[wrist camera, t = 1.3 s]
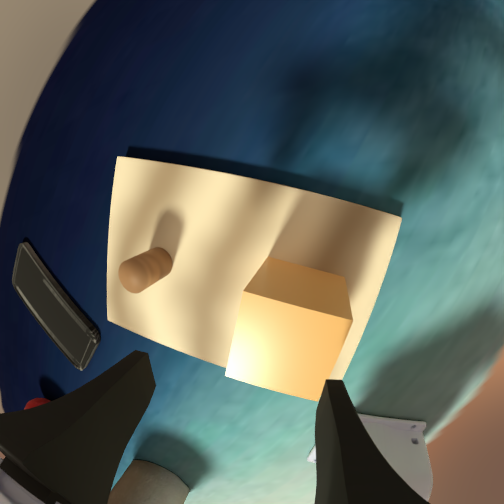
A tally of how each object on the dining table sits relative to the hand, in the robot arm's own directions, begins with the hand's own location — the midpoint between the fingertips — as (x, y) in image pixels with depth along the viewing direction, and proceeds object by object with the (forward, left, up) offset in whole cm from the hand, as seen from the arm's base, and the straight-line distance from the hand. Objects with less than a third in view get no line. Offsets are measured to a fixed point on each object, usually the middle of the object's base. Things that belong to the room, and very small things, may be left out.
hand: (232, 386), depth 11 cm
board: (+3, 0, -10) cm, 10 cm away
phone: (+23, +10, -10) cm, 27 cm away
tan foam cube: (-2, 0, -9) cm, 9 cm away
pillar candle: (+8, +35, -10) cm, 37 cm away
